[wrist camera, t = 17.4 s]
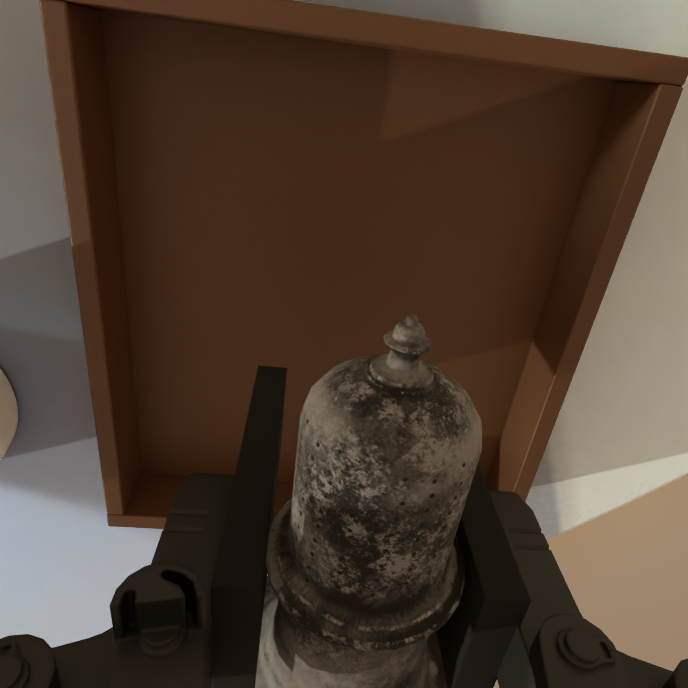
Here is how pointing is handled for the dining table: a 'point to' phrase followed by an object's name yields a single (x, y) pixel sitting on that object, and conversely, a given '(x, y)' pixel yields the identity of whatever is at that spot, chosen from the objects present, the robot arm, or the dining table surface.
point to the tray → (333, 216)
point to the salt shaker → (371, 525)
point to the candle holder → (7, 414)
